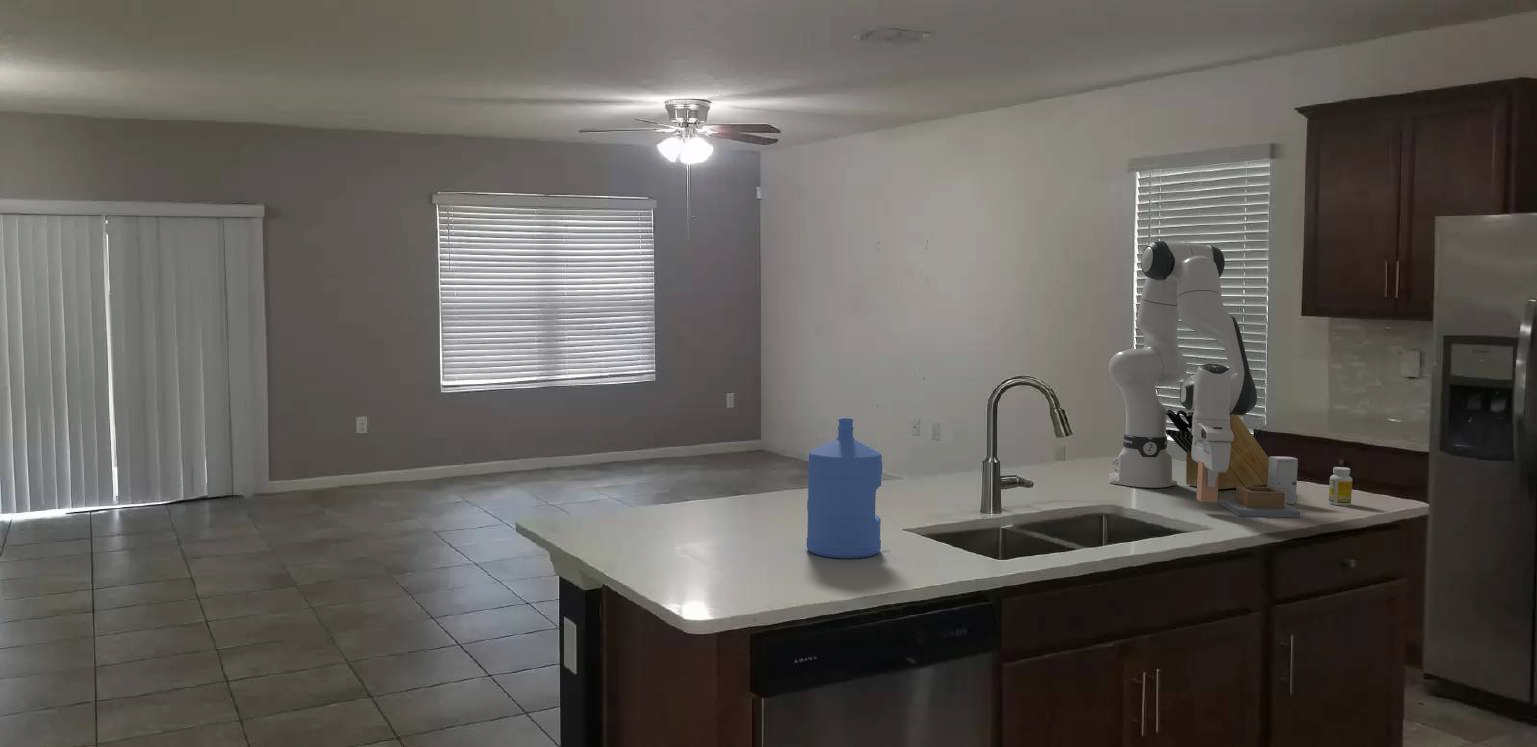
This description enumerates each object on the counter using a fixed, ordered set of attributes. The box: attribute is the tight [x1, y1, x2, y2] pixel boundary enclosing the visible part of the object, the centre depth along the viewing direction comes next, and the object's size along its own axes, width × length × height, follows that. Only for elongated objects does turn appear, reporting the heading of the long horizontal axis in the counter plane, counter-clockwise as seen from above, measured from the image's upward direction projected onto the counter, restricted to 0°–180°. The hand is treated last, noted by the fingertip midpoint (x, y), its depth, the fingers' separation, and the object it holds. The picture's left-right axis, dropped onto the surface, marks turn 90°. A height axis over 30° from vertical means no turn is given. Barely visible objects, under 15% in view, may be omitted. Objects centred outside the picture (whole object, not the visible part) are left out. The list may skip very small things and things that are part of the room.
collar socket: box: [1219, 486, 1302, 519], centre depth 301 cm, size 15×15×6 cm
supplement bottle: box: [1328, 466, 1353, 507], centre depth 312 cm, size 5×5×10 cm
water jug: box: [806, 417, 883, 560], centre depth 248 cm, size 16×16×28 cm
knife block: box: [1165, 409, 1269, 490], centre depth 335 cm, size 11×35×31 cm, turn 115°
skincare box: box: [1267, 455, 1299, 505], centre depth 312 cm, size 6×4×12 cm
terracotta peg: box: [1195, 460, 1219, 503], centre depth 297 cm, size 4×4×10 cm
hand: (1207, 484), depth 297 cm, fingers closed on terracotta peg, 4 cm apart
